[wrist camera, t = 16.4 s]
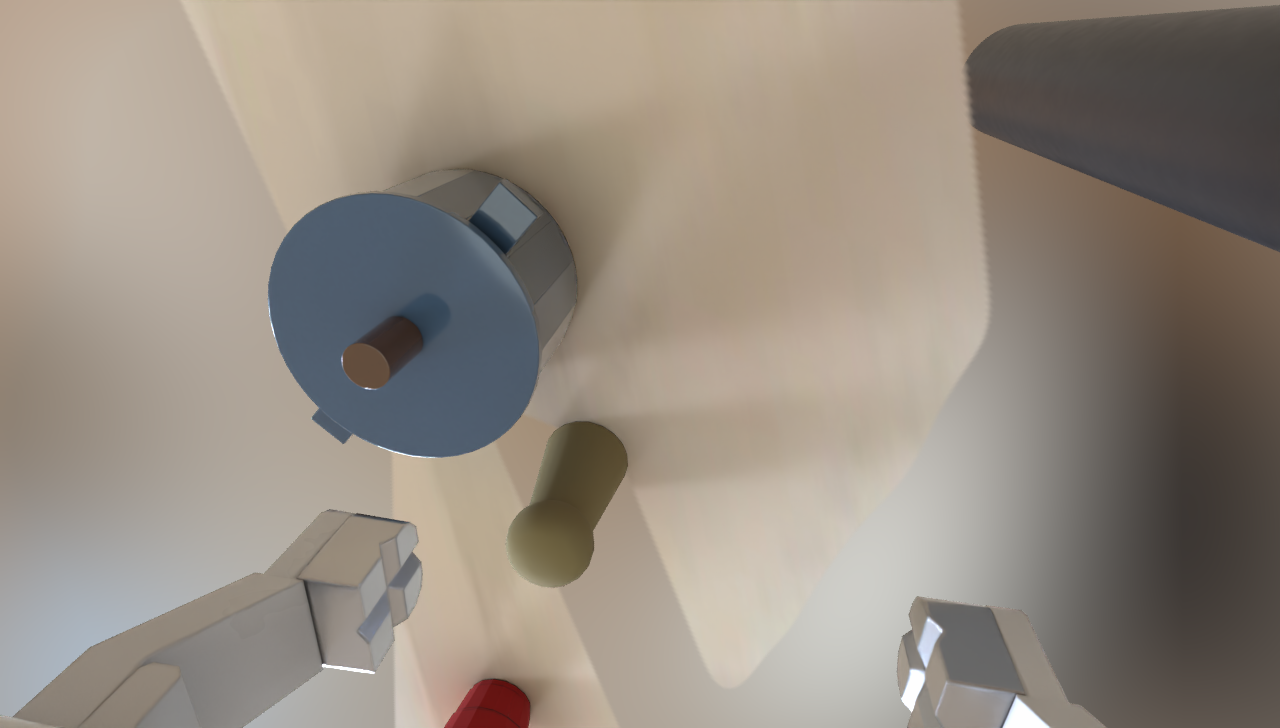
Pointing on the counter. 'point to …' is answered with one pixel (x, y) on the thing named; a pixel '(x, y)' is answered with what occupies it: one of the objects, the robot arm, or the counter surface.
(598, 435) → the cork
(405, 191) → the pot
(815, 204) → the counter surface
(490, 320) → the lid
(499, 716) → the plastic cup
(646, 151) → the counter surface
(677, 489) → the counter surface
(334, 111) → the counter surface
